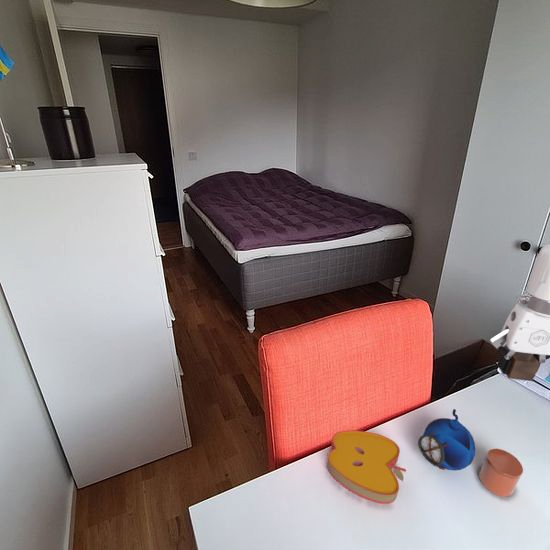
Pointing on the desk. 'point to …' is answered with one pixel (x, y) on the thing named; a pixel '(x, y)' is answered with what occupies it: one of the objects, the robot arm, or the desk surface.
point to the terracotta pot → (500, 472)
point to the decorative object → (366, 465)
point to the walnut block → (523, 366)
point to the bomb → (447, 444)
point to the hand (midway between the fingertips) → (515, 371)
